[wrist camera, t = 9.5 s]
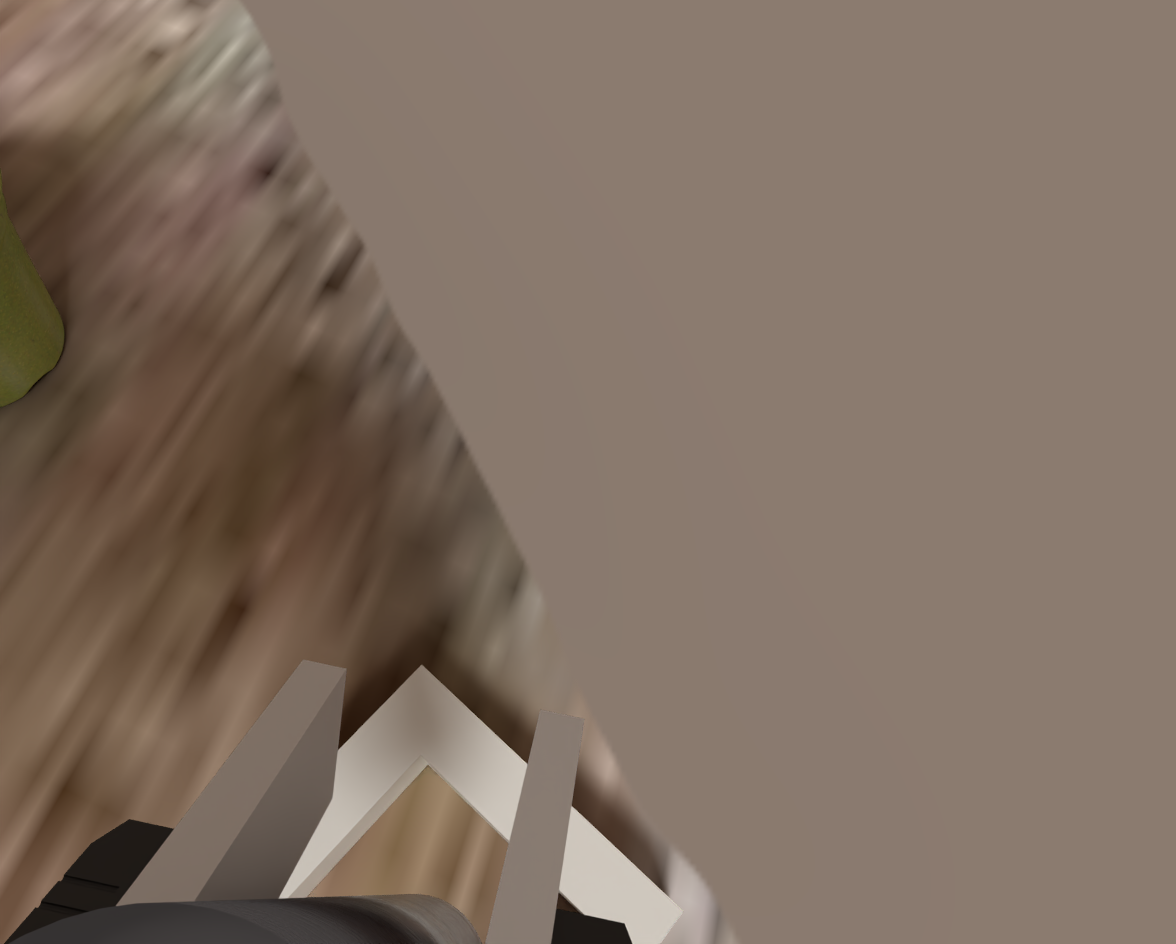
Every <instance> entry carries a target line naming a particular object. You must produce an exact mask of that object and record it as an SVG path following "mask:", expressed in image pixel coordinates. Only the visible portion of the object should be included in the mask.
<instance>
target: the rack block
mask: <svg viewBox="0 0 1176 944" xmlns="http://www.w3.org/2000/svg"><path fill="white" fill-rule="evenodd" d="M427 765H429V766H430V767H431V768H432V769H433V770H434V771H435V772H436V773H437V774H438V775H439V776H440V777H441V778H442V779H443V780H444V781H445V782H446V783H447V784H448V785H449V786H450V787H451V788H452V789H453V790H454V791H455V792H456V793H457V794H459V795H460V796H461V797H462V798H463V799H464V800H465V801H466V802H467V803H468V804H469V805H470V806H471V807H472V808H473V809H474V810H475V811H476V812H477V813H478V814H479V815H480V816H481V817H482V818H483V819H484V820H485V821H486V822H487V823H488V824H489V825H490V826H491V827H492V828H493V829H494V830H495V831H496V832H497V833H498V834H499V835H500V836H502V837H503V838H504V839H505V840H506V841H507V842H508V843H509V841H510V836H511V832H512V828H513V824H514V819H515V815H516V811H517V807H518V802H519V798H520V794H521V790H522V786H523V781H524V777H525V773H526V769H527V763H526V762H525V761H524V760H522V759H521V758H520V757H519V756H518V755H517V754H516V753H515V752H514V751H513V750H512V749H511V748H510V747H509V746H508V745H507V744H505V743H504V742H503V741H502V740H501V739H500V738H499V737H498V736H497V735H496V734H495V733H494V732H493V731H492V730H491V729H490V728H488V727H487V726H486V725H485V724H484V723H483V722H482V721H481V720H480V719H479V718H478V717H477V716H476V715H475V714H474V713H473V712H471V711H470V710H469V709H468V708H467V707H466V706H465V705H464V704H463V703H462V702H461V701H460V700H459V699H458V698H457V697H456V696H454V695H453V694H452V693H451V692H450V691H449V690H448V689H447V688H446V687H445V686H444V685H443V684H442V683H441V682H440V681H439V680H437V679H436V678H435V677H434V676H433V675H432V674H431V673H430V672H429V671H428V670H427V669H426V668H425V667H424V666H423V665H421V666H420V667H419V668H418V669H417V670H416V671H415V672H414V673H413V674H412V675H411V676H410V677H409V678H408V679H407V680H406V681H405V682H404V683H403V684H402V685H401V686H400V687H399V688H398V689H397V690H396V691H395V692H394V694H393V695H392V696H391V697H390V698H389V699H388V700H387V701H386V702H385V703H384V704H383V705H382V706H381V707H380V708H379V709H378V710H377V711H376V712H375V713H374V714H373V715H372V716H371V717H370V718H369V719H368V720H367V721H366V722H365V723H364V724H363V725H362V726H361V727H360V728H359V729H358V730H357V731H356V732H355V733H354V735H353V736H352V737H351V738H350V739H349V740H348V741H347V742H346V743H345V744H344V745H343V746H342V747H341V748H340V749H339V750H338V753H337V762H336V771H335V780H334V790H333V799H332V800H331V802H330V804H329V806H328V808H327V810H326V812H325V813H324V815H323V817H322V819H321V821H320V823H319V824H318V826H317V828H316V830H315V832H314V834H313V836H312V837H311V839H310V841H309V843H308V845H307V847H306V849H305V850H304V852H303V854H302V856H301V858H300V860H299V862H298V863H297V865H296V867H295V869H294V871H293V873H292V874H291V876H290V878H289V880H288V882H287V884H286V886H285V887H284V889H283V891H282V893H281V895H280V897H279V898H306V897H307V896H308V895H309V893H310V892H311V891H312V890H313V889H314V888H315V887H316V886H317V885H318V884H319V883H320V881H321V880H322V879H323V878H324V877H325V876H326V875H327V874H328V873H329V872H330V871H331V869H332V868H333V867H334V866H335V865H336V864H337V863H338V862H339V861H340V860H341V859H342V858H343V856H344V855H345V854H346V853H347V852H348V851H349V850H350V849H351V848H352V847H353V846H354V844H355V843H356V842H357V841H358V840H359V839H360V838H361V837H362V836H363V835H364V834H365V832H366V831H367V830H368V829H369V828H370V827H371V826H372V825H373V824H374V823H375V822H376V821H377V819H378V818H379V817H380V816H381V815H382V814H383V813H384V812H385V811H386V810H387V809H388V807H389V806H390V805H391V804H392V803H393V802H394V801H395V800H396V799H397V798H398V797H399V795H400V794H401V793H402V792H403V791H404V790H405V789H406V788H407V787H408V786H409V785H410V783H411V782H412V781H413V780H414V779H415V778H416V777H417V776H418V775H419V774H420V773H421V772H422V770H423V769H424V768H425V767H426V766H427ZM559 893H560V894H561V895H562V896H563V897H564V898H565V899H566V900H567V901H568V902H569V903H570V904H571V905H572V906H573V907H574V908H575V909H576V910H577V911H578V912H579V913H580V914H584V915H588V916H593V917H598V918H602V919H607V920H611V921H616V922H621V923H625V926H626V928H627V931H628V933H629V936H630V938H631V941H632V944H660V943H661V942H662V941H663V939H664V938H665V936H666V935H667V934H668V932H669V931H670V929H671V928H672V927H673V925H674V924H675V923H676V921H677V920H678V918H679V917H680V916H681V914H682V913H683V910H682V909H681V908H680V907H679V906H677V905H676V904H675V903H674V902H673V901H672V900H671V899H670V898H669V897H668V896H667V895H666V894H665V893H664V892H663V891H662V890H660V889H659V888H658V887H657V886H656V885H655V884H654V883H653V882H652V881H651V880H650V879H649V878H648V877H647V876H646V875H645V874H643V873H642V872H641V871H640V870H639V869H638V868H637V867H636V866H635V865H634V864H633V863H632V862H631V861H630V860H629V859H628V858H626V857H625V856H624V855H623V854H622V853H621V852H620V851H619V850H618V849H617V848H616V847H615V846H614V845H613V844H612V843H611V842H610V841H608V840H607V839H606V838H605V837H604V836H603V835H602V834H601V833H600V832H599V831H598V830H597V829H596V828H595V827H594V826H593V825H591V824H590V823H589V822H588V821H587V820H586V819H585V818H584V817H583V816H582V815H581V814H580V813H579V812H578V811H577V810H576V809H574V808H573V807H572V806H571V813H570V819H569V826H568V833H567V839H566V846H565V853H564V859H563V866H562V873H561V880H560V886H559Z"/></svg>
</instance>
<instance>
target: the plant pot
mask: <svg viewBox="0 0 1176 944" xmlns="http://www.w3.org/2000/svg"><path fill="white" fill-rule="evenodd" d="M63 344H64V327H63V322H62V319H61V317H60V314H59V312H58V310H57V308H56V307H55V305H54V303H53V301H52V299H51V297H50V295H49V293H48V291H47V289H46V288H45V286H44V284H43V282H42V280H41V278H40V276H39V275H38V273H37V271H36V269H35V267H34V265H33V263H32V261H31V259H30V258H29V256H28V254H27V252H26V250H25V248H24V246H23V244H22V242H21V240H20V238H19V236H18V234H17V232H16V230H15V228H14V227H13V225H12V223H11V221H10V219H9V217H8V215H7V207H6V202H5V198H4V195H3V193H2V176H1V169H0V407H3V406H6V405H8V404H10V403H12V402H15V401H16V400H18V399H20V398H22V397H23V396H24V395H25V394H26V393H27V392H28V391H29V389H30V388H31V387H32V386H33V384H34V383H35V382H37V381H38V380H39V379H40V378H41V377H42V376H43V375H44V374H46V373H47V372H48V371H50V370H52V369H53V368H54V367H55V365H56V363H57V361H58V359H59V357H60V355H61V352H62V349H63Z"/></svg>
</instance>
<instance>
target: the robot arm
mask: <svg viewBox="0 0 1176 944" xmlns="http://www.w3.org/2000/svg"><path fill="white" fill-rule="evenodd" d="M346 670H347V669H346V668H341V667H336V666H331V665H327V664H322V663H317V662H312V661H308V660H302V662H301V663H300V664H299V666H298V667H297V668H296V670H295V671H294V672H293V673H292V675H291V676H290V677H289V679H288V680H287V681H286V683H285V684H284V685H283V687H282V688H281V689H280V691H279V692H278V693H277V695H276V696H275V697H274V698H273V700H272V701H271V702H270V704H269V705H268V706H267V708H266V709H265V710H264V712H263V713H262V714H261V716H260V717H259V718H258V719H257V721H256V722H255V723H254V725H253V726H252V727H251V729H250V730H249V731H248V733H247V734H246V735H245V737H244V738H243V739H242V741H241V742H240V743H239V744H238V746H237V747H236V748H235V750H234V751H233V752H232V754H231V755H230V756H229V758H228V759H227V760H226V762H225V763H224V764H223V766H222V767H221V768H220V769H219V771H218V772H217V773H216V775H215V776H214V777H213V779H212V780H211V781H210V783H209V784H208V785H207V787H206V788H205V789H204V790H203V792H202V793H201V794H200V796H199V797H198V798H197V800H196V801H195V802H194V804H193V805H192V806H191V808H190V809H189V810H188V812H187V813H186V814H185V815H184V817H183V818H182V819H181V821H180V822H179V823H178V825H177V826H176V827H175V829H172V828H167V827H163V826H158V825H153V824H149V823H144V822H140V821H135V820H130V819H129V820H128V821H126V822H124V823H123V824H121V825H120V826H118V827H116V828H115V829H113V830H112V831H110V832H109V833H107V834H105V835H104V836H102V837H101V838H99V839H97V840H96V841H94V842H93V843H91V844H90V845H89V847H88V848H87V849H86V850H85V851H84V852H83V854H82V855H81V856H80V857H79V858H78V859H77V860H76V862H75V863H74V864H73V865H72V866H71V867H70V868H69V870H68V871H67V872H66V873H65V874H64V877H63V879H62V881H58V882H57V883H56V885H55V886H54V887H53V888H52V889H51V890H50V891H49V893H48V894H47V895H46V896H45V897H44V898H43V899H42V901H41V904H40V906H39V907H38V908H35V909H34V910H33V911H32V912H31V913H30V914H29V916H28V917H27V918H26V919H25V920H24V921H23V922H22V924H21V925H20V926H19V927H18V928H17V929H16V931H15V932H14V933H13V934H12V935H11V936H10V937H9V939H8V940H7V941H6V942H5V943H4V944H9V943H10V942H12V941H14V940H16V939H18V938H20V937H21V936H23V935H25V934H28V933H30V932H32V931H35V930H37V929H40V928H42V927H44V926H47V925H49V924H52V923H54V922H57V921H59V920H61V919H65V918H68V917H72V916H75V915H79V914H82V913H86V912H90V911H93V910H97V909H101V908H107V907H114V906H121V905H128V904H135V903H158V902H188V901H218V900H248V899H278V898H279V897H280V895H281V893H282V891H283V889H284V887H285V886H286V884H287V882H288V880H289V878H290V876H291V874H292V873H293V871H294V869H295V867H296V865H297V863H298V862H299V860H300V858H301V856H302V854H303V852H304V850H305V849H306V847H307V845H308V843H309V841H310V839H311V837H312V836H313V834H314V832H315V830H316V828H317V826H318V824H319V823H320V821H321V819H322V817H323V815H324V813H325V812H326V810H327V808H328V806H329V804H330V802H331V800H332V799H333V790H334V780H335V771H336V762H337V753H338V744H339V735H340V725H341V716H342V707H343V698H344V689H345V679H346ZM583 725H584V719H583V718H579V717H574V716H569V715H564V714H560V713H555V712H550V711H545V710H541V709H540V713H539V718H538V722H537V726H536V730H535V735H534V739H533V743H532V747H531V752H530V756H529V760H528V764H527V769H526V773H525V777H524V781H523V786H522V790H521V794H520V798H519V802H518V807H517V811H516V815H515V819H514V824H513V828H512V832H511V836H510V841H509V845H508V849H507V853H506V858H505V862H504V866H503V870H502V875H501V879H500V883H499V887H498V892H497V896H496V900H495V904H494V908H493V913H492V917H491V921H490V925H489V930H488V934H487V938H486V942H485V944H632V941H631V938H630V936H629V933H628V931H627V928H626V926H625V923H621V922H616V921H611V920H607V919H602V918H598V917H593V916H588V915H584V914H579V913H574V912H570V911H565V910H560V909H556V906H557V900H558V893H559V886H560V880H561V873H562V866H563V859H564V853H565V846H566V839H567V833H568V826H569V819H570V813H571V806H572V799H573V792H574V786H575V779H576V772H577V766H578V759H579V752H580V745H581V739H582V732H583Z"/></svg>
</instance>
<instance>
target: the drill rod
mask: <svg viewBox="0 0 1176 944" xmlns="http://www.w3.org/2000/svg"><path fill="white" fill-rule="evenodd" d="M9 944H482V942H481V940H480V938H479V936H478V934H477V932H476V930H475V929H474V927H473V925H472V924H471V923H470V921H469V920H468V919H467V918H466V917H465V916H464V915H463V914H462V913H461V912H460V911H459V910H458V909H457V908H455V907H454V906H452V905H451V904H449V903H448V902H445V901H443V900H441V899H439V898H436V897H432V896H429V895H422V894H399V895H369V896H339V897H309V898H278V899H248V900H218V901H188V902H158V903H135V904H128V905H121V906H114V907H107V908H101V909H97V910H93V911H90V912H86V913H82V914H79V915H75V916H72V917H68V918H65V919H61V920H59V921H57V922H54V923H52V924H49V925H47V926H44V927H42V928H40V929H37V930H35V931H32V932H30V933H28V934H25V935H23V936H21V937H20V938H18V939H16V940H14V941H12V942H10V943H9Z"/></svg>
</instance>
